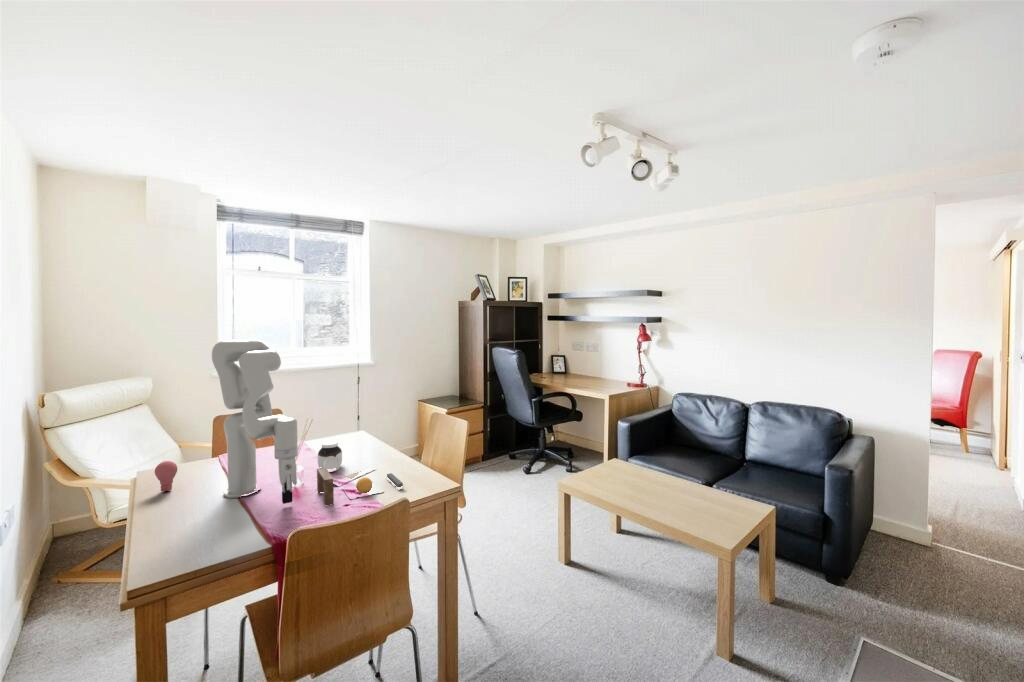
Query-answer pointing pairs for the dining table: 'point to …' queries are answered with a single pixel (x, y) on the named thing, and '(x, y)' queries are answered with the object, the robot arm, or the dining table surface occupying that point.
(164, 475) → the light bulb
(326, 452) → the spread jar
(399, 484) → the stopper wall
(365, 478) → the ball
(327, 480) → the bridge
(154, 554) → the dining table surface
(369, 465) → the dining table surface
